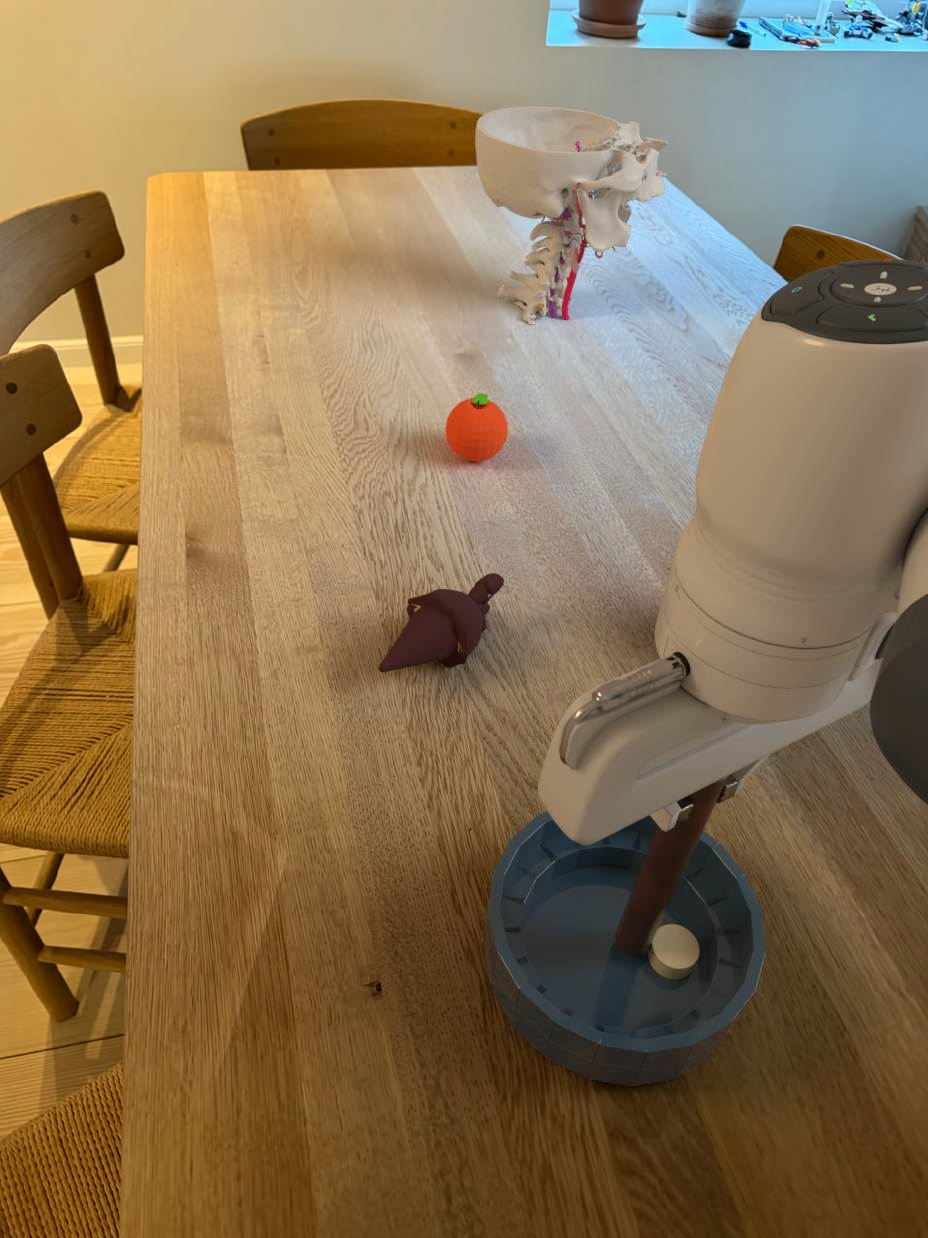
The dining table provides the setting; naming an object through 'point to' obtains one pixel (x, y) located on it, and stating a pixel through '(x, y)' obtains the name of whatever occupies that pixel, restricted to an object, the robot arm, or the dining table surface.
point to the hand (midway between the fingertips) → (692, 803)
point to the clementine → (476, 428)
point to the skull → (564, 189)
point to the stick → (663, 873)
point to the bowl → (617, 954)
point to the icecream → (443, 626)
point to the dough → (673, 951)
